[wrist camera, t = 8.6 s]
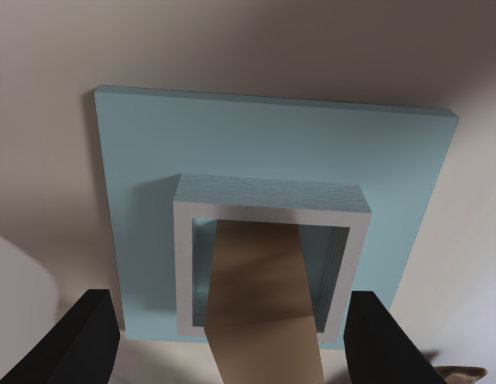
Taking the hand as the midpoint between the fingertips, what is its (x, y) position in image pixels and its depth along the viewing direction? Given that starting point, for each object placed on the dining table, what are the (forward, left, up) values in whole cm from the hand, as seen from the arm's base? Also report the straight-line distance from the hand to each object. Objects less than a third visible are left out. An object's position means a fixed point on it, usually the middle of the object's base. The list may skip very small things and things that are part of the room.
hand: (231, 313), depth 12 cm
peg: (-1, +4, -8) cm, 9 cm away
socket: (-2, +4, -9) cm, 10 cm away
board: (-2, +4, -9) cm, 10 cm away
